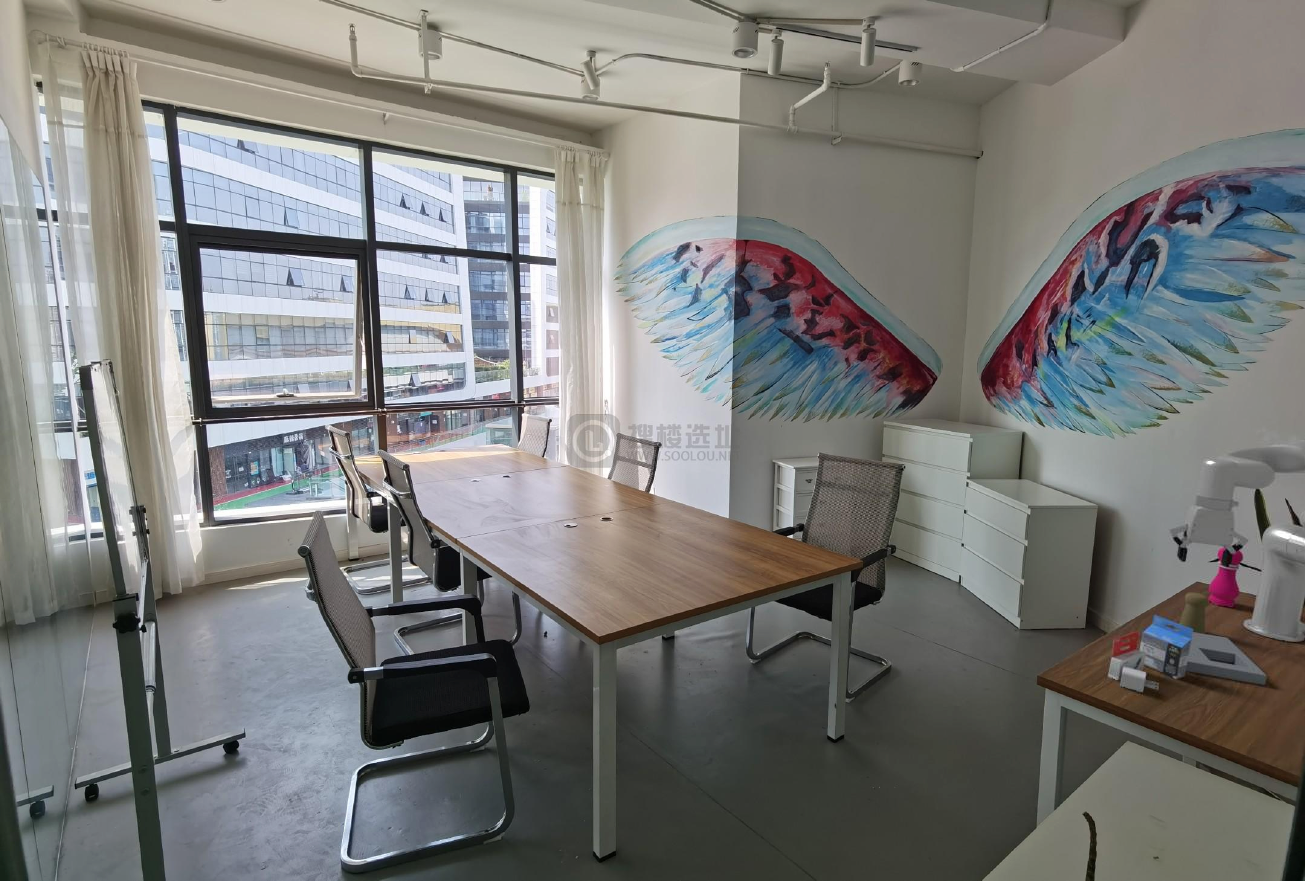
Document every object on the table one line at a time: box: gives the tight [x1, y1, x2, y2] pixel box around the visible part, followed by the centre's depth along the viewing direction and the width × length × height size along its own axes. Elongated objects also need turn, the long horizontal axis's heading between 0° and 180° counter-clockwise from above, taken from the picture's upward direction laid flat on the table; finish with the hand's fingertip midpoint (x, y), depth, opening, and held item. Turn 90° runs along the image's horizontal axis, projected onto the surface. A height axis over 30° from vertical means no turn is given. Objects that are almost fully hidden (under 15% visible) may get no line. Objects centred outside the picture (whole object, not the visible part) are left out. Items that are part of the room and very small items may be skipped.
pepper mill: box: [1208, 542, 1244, 608], centre depth 203 cm, size 7×7×20 cm
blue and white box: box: [1139, 614, 1193, 680], centre depth 159 cm, size 9×4×12 cm, turn 23°
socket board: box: [1173, 628, 1268, 686], centre depth 167 cm, size 16×22×2 cm
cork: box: [1178, 592, 1210, 634], centre depth 183 cm, size 6×6×11 cm
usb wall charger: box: [1119, 666, 1160, 694], centre depth 150 cm, size 4×7×4 cm, turn 50°
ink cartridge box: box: [1107, 630, 1146, 681], centre depth 156 cm, size 2×11×10 cm, turn 118°
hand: (1203, 563), depth 180 cm, fingers open, 9 cm apart
